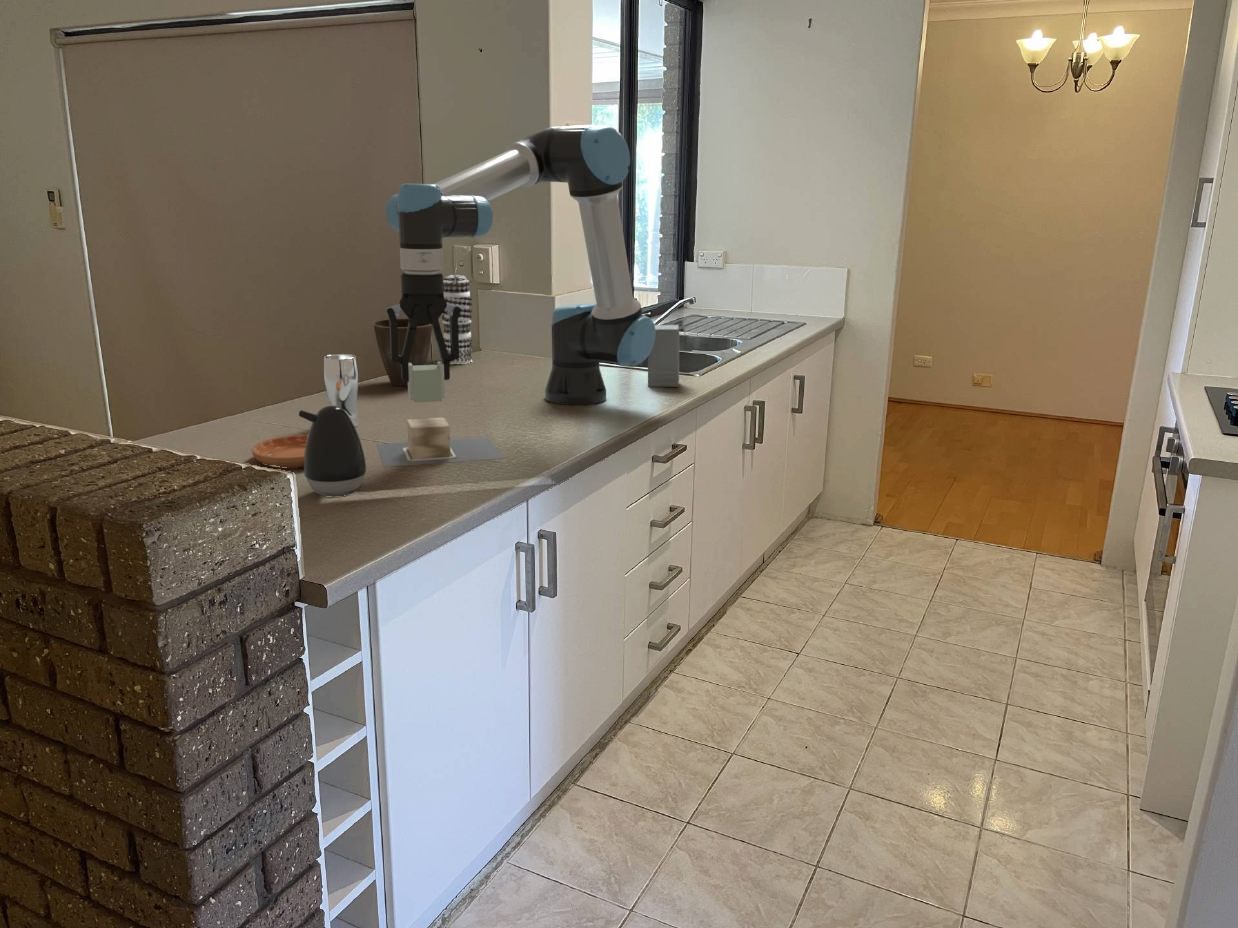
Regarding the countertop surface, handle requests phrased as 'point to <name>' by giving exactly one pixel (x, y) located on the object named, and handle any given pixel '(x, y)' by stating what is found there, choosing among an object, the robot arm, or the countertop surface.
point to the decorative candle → (460, 296)
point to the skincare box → (664, 357)
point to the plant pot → (417, 352)
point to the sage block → (427, 383)
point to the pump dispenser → (333, 453)
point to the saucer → (282, 451)
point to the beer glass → (342, 382)
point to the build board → (458, 453)
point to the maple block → (428, 438)
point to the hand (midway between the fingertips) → (426, 397)
